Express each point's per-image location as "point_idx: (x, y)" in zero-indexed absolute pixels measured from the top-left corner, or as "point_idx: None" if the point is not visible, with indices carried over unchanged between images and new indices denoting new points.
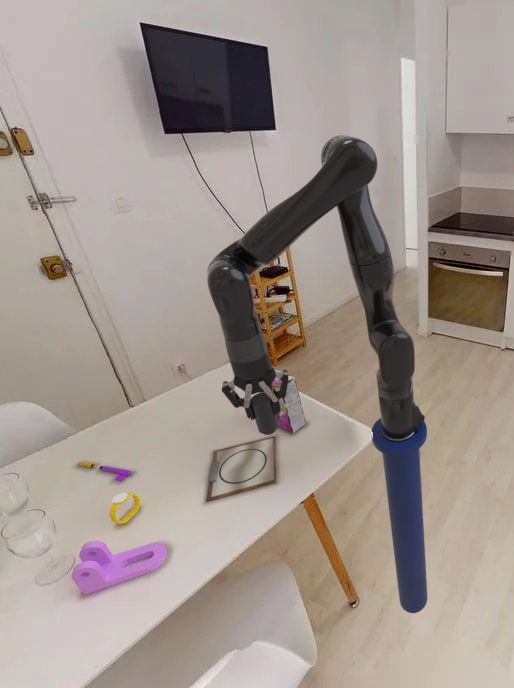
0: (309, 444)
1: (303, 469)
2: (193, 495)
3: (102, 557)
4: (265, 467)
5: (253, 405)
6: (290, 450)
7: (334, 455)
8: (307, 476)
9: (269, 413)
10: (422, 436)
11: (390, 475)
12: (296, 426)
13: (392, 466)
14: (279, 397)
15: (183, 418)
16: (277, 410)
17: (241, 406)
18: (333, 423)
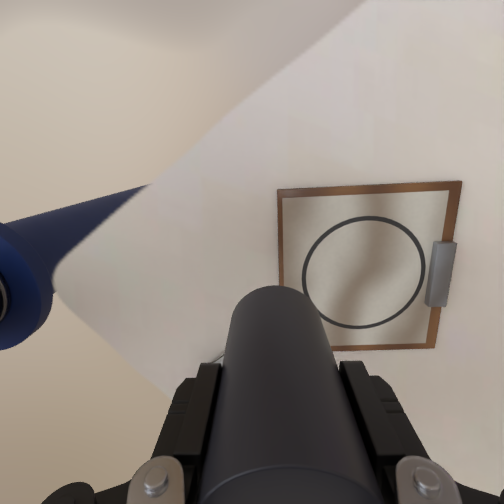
0: (190, 298)
1: (203, 214)
2: (490, 216)
3: None
4: (305, 250)
5: (360, 471)
6: (240, 293)
7: (119, 238)
8: (191, 185)
9: (240, 369)
10: None
11: (74, 228)
12: (221, 364)
13: (48, 230)
14: (117, 500)
15: (497, 471)
16: (195, 387)
17: (470, 489)
18: (129, 352)
